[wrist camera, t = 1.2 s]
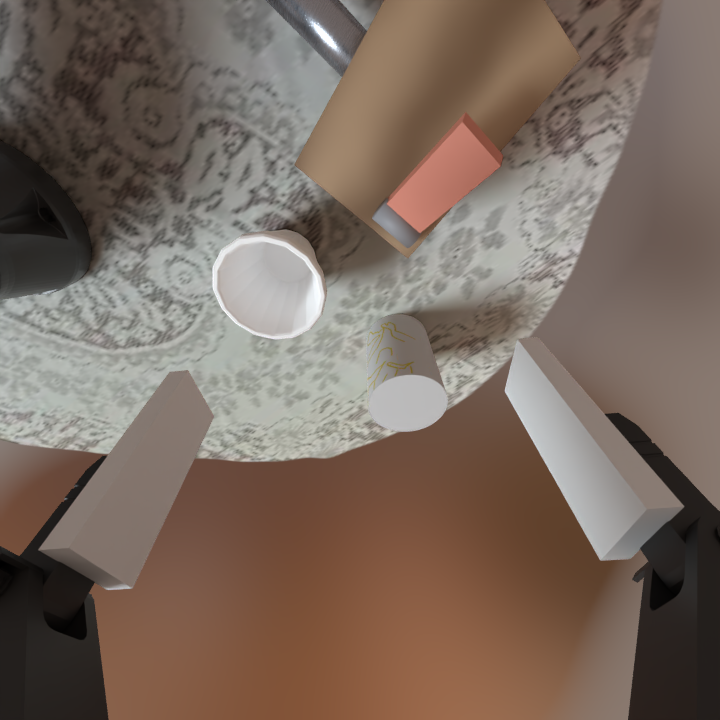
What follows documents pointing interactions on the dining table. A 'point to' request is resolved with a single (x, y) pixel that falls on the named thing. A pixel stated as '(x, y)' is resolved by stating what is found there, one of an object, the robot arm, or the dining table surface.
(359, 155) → the block
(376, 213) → the keeper tab
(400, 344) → the cup
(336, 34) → the hitch pin
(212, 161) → the dining table surface
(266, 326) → the cup
